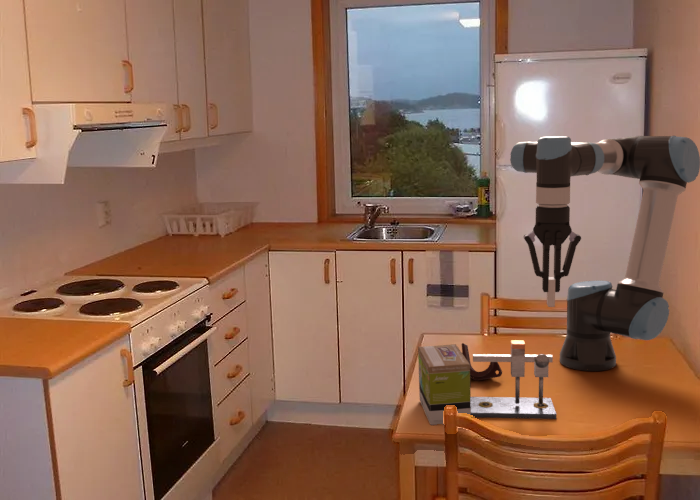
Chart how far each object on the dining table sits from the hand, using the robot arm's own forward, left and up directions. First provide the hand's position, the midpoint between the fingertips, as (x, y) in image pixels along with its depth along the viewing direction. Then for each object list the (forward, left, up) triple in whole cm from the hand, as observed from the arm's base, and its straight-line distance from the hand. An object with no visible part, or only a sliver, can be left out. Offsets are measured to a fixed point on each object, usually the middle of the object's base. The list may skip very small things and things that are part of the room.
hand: (550, 305), depth 180 cm
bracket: (+18, -22, -26) cm, 39 cm away
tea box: (+25, +2, -26) cm, 36 cm away
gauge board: (+9, 0, -26) cm, 27 cm away
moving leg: (+7, 0, -24) cm, 25 cm away
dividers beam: (+9, 0, -24) cm, 26 cm away
